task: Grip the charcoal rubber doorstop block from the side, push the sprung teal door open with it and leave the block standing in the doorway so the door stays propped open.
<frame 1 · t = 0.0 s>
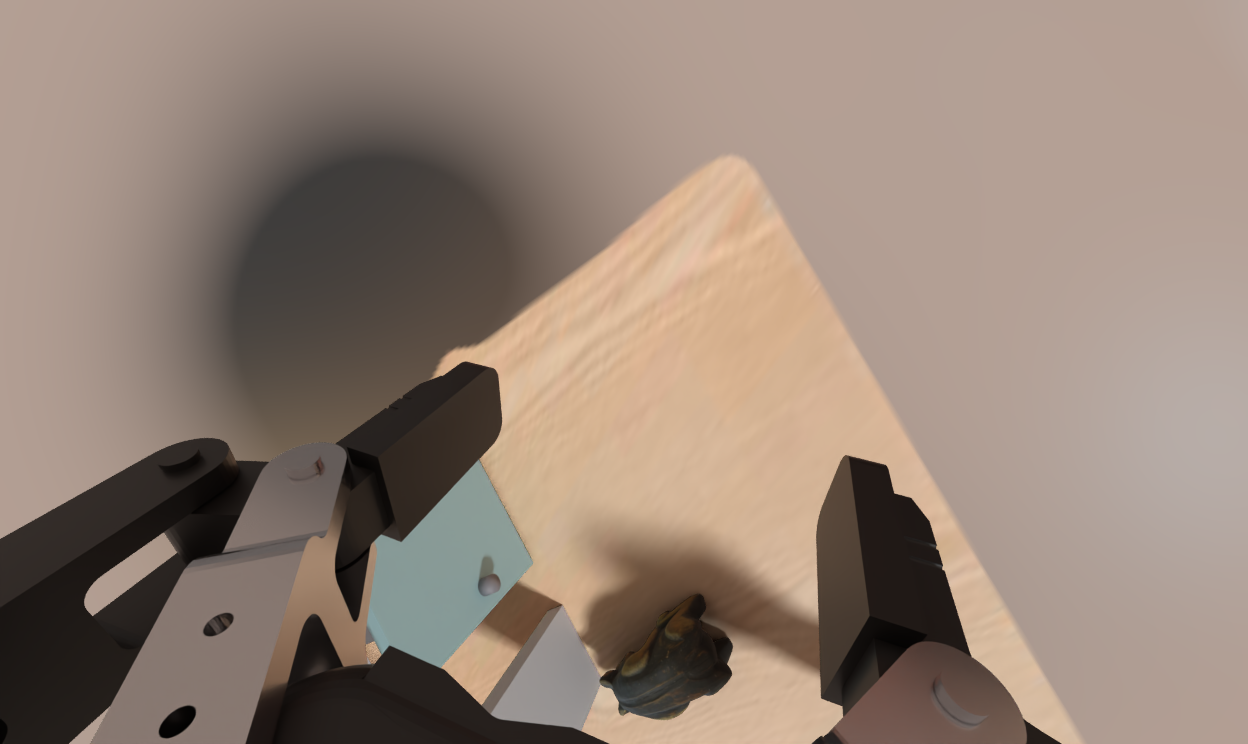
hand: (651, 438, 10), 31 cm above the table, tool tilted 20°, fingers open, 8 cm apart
wall frame: (524, 550, 49), on the table
door: (445, 536, 40), point 9 cm above the table, hinge at 0.0°
sculpture: (666, 637, 46), on the table
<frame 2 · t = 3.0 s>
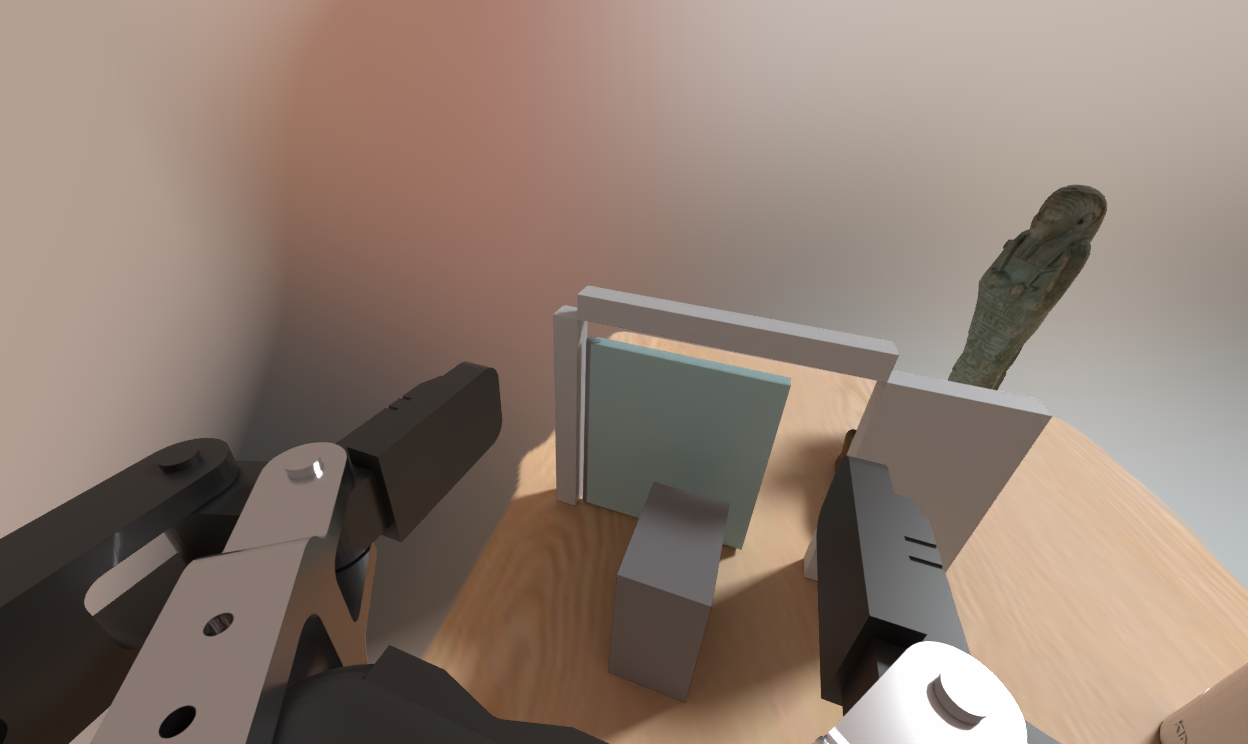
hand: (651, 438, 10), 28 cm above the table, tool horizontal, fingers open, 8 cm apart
figurine: (938, 432, 59), on the table
wall frame: (724, 543, 42), on the table
door: (671, 444, 39), point 9 cm above the table, hinge at 0.0°
doorstop block: (660, 632, 35), on the table
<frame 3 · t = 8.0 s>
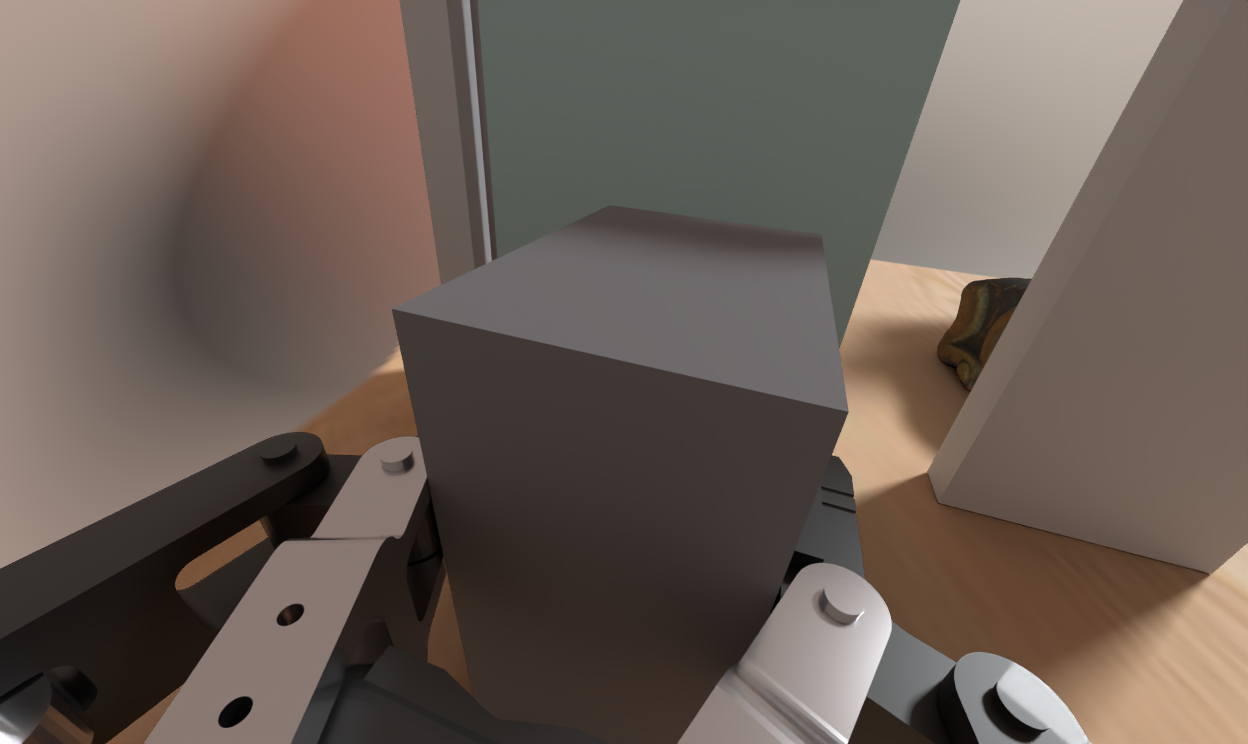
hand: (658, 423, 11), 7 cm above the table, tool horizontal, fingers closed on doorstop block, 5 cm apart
wall frame: (767, 444, 21), on the table
door: (662, 222, 19), point 9 cm above the table, hinge at 0.0°
doorstop block: (630, 609, 14), on the table, touching gripper
sculpture: (1016, 415, 26), on the table
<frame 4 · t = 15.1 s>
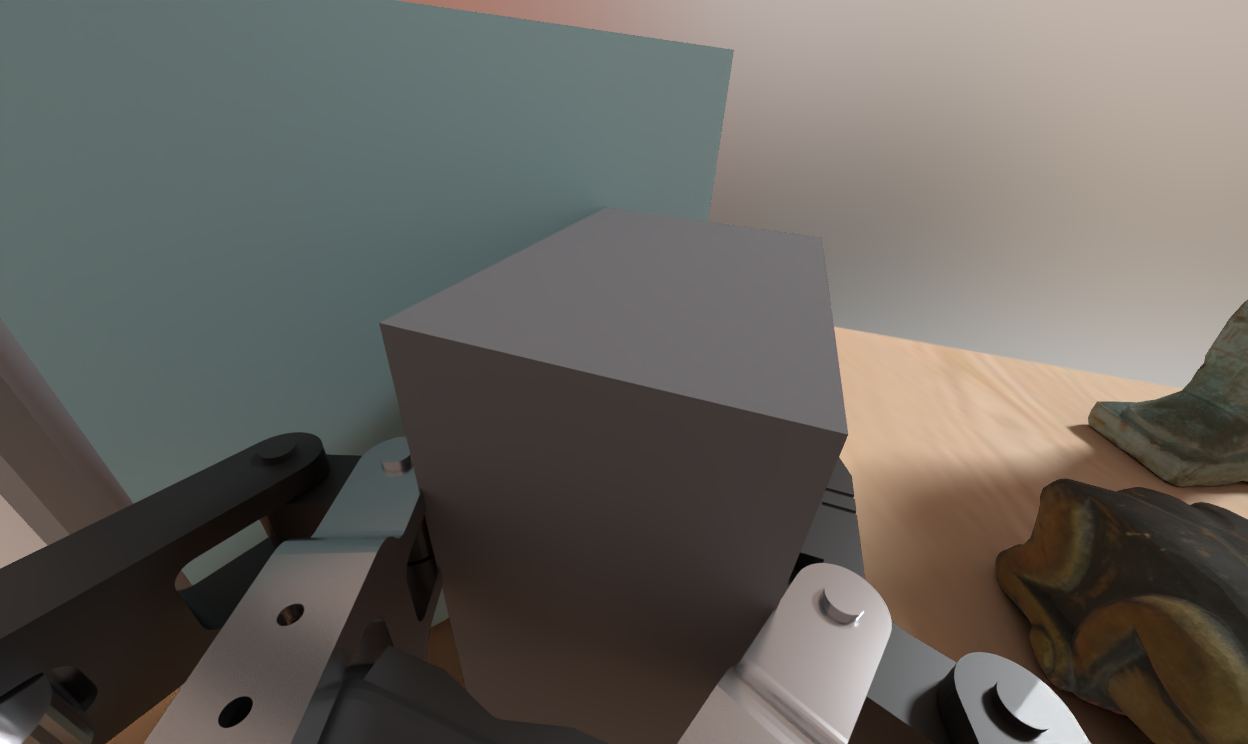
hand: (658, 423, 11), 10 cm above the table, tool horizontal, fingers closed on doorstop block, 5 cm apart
figurine: (1177, 458, 28), on the table
door: (469, 380, 14), point 9 cm above the table, hinge at 54.0°
doorstop block: (628, 615, 14), point 3 cm above the table, touching gripper
when the fingers open (7 cm above the table, at t = 16.3 s): doorstop block stays where it is, on the table.
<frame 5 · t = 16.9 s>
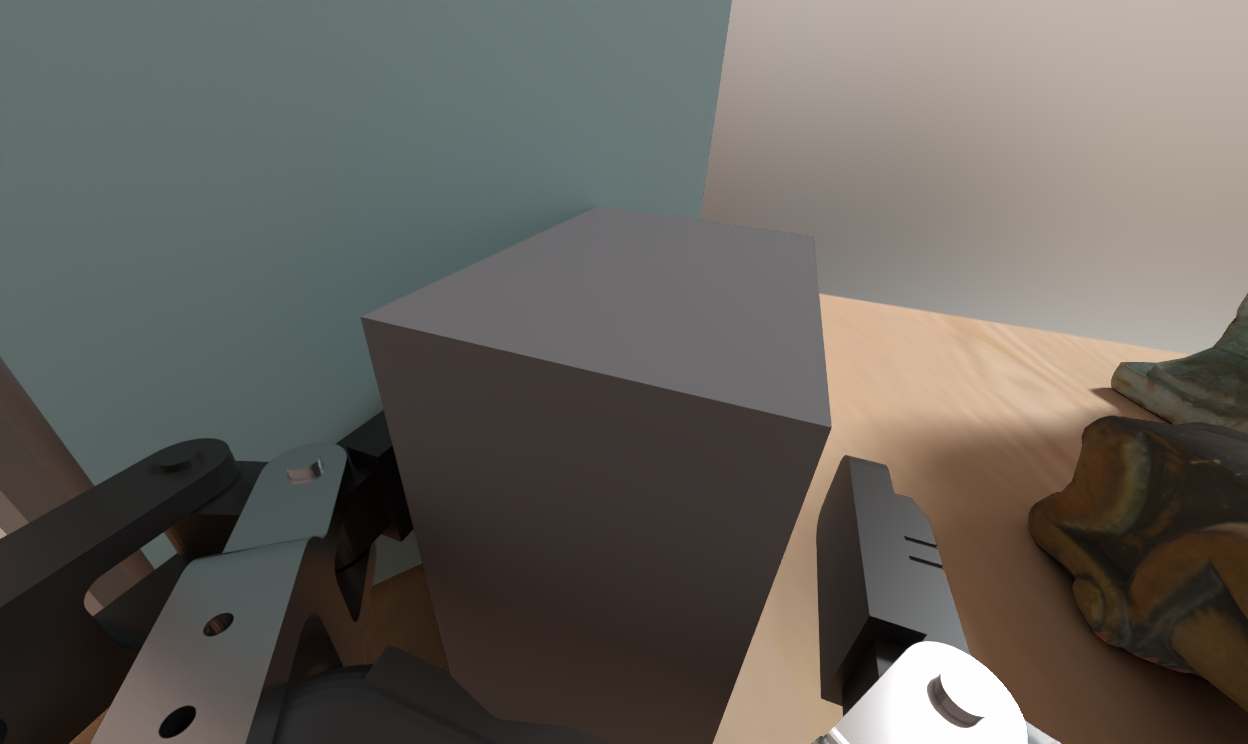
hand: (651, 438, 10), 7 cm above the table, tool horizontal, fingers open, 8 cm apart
figurine: (1207, 419, 26), on the table
door: (442, 273, 12), point 9 cm above the table, hinge at 54.1°
doorstop block: (621, 616, 14), on the table
sculpture: (1206, 716, 13), on the table
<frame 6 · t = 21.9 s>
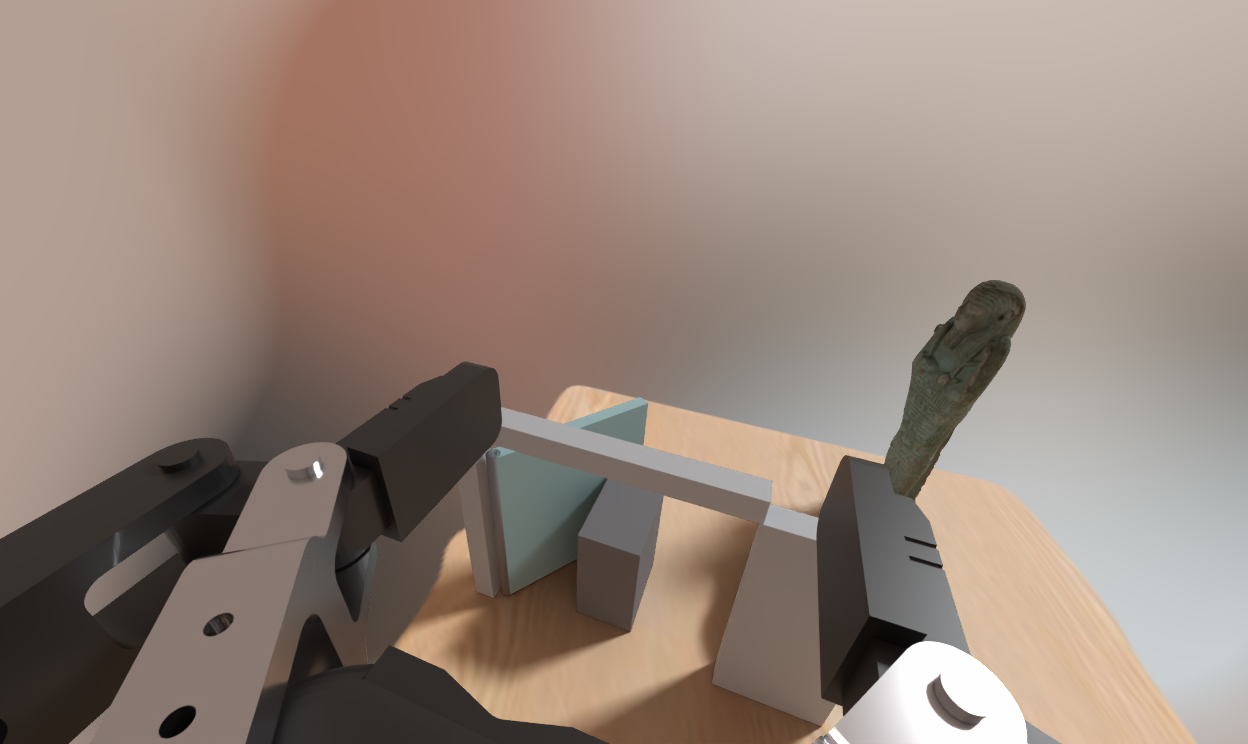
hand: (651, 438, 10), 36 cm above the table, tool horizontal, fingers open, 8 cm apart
figurine: (878, 504, 59), on the table
wall frame: (637, 642, 42), on the table
door: (569, 493, 45), point 9 cm above the table, hinge at 54.1°
doorstop block: (616, 586, 47), on the table
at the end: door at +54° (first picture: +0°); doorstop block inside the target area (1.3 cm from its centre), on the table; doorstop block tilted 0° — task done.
